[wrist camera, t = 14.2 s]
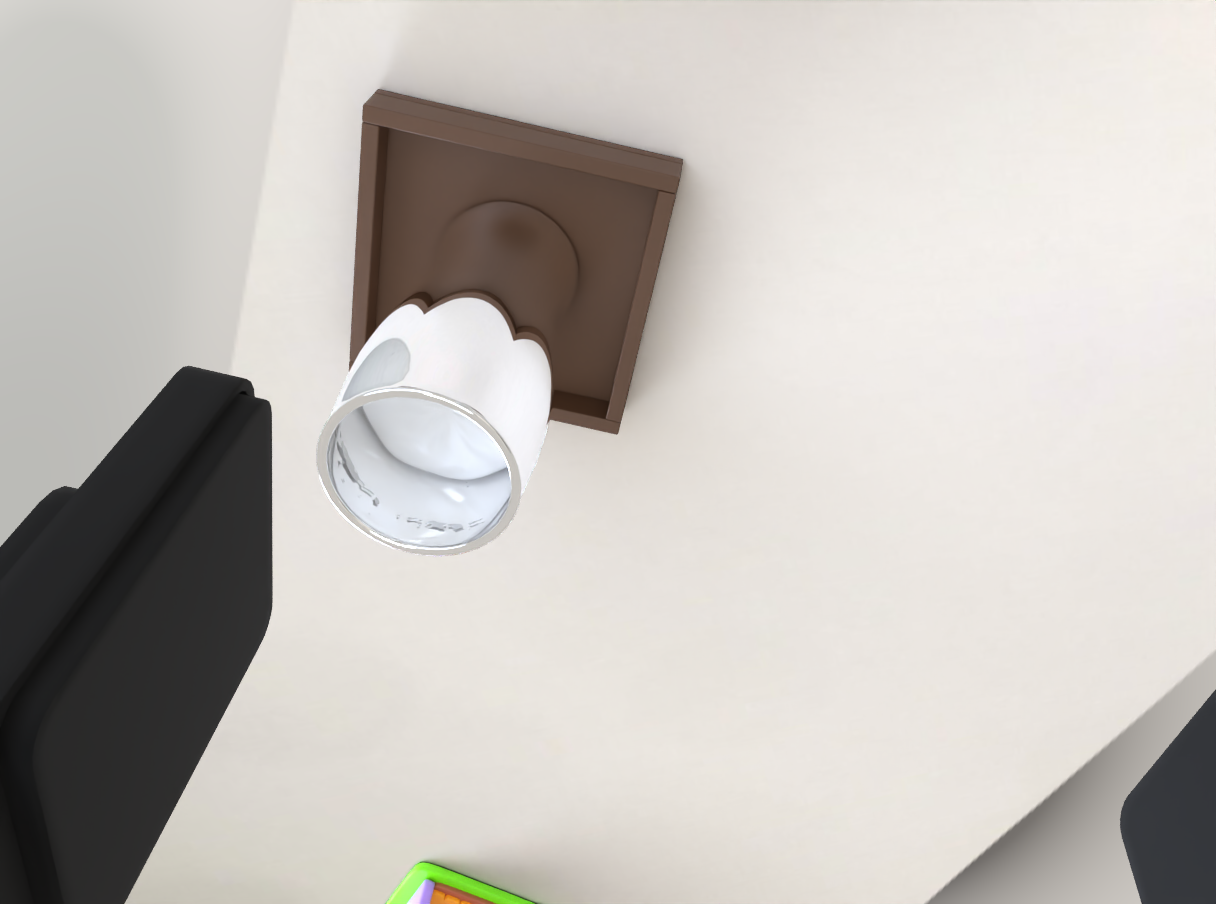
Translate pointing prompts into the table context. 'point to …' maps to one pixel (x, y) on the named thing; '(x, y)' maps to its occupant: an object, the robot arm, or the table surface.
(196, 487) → the robot arm
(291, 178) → the table surface
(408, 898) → the dollhouse room
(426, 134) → the tray
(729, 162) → the table surface
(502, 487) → the beer glass
